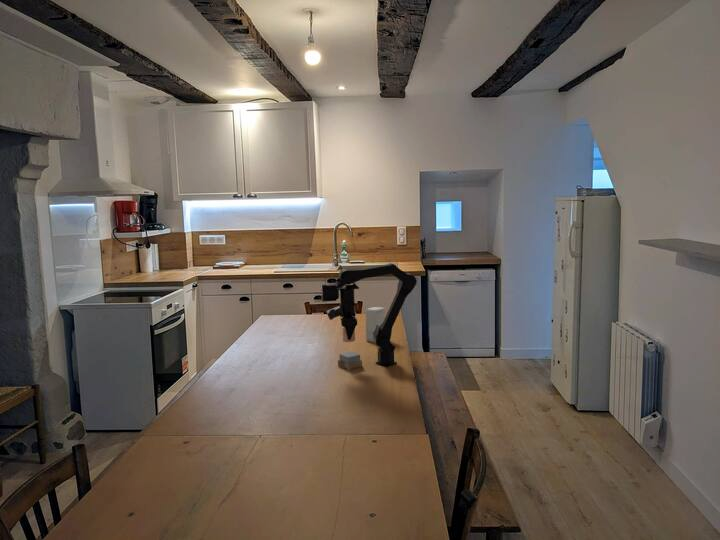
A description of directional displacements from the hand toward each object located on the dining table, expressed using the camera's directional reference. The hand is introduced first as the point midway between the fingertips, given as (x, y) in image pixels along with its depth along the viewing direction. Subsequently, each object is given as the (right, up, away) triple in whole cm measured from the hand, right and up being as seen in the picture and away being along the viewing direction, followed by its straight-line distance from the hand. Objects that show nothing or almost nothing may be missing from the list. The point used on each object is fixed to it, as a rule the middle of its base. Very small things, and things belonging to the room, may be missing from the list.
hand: (348, 337), depth 219 cm
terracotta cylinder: (0, -1, 0) cm, 1 cm away
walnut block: (0, -12, +1) cm, 12 cm away
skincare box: (+12, -6, +41) cm, 43 cm away
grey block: (0, -9, +1) cm, 9 cm away
